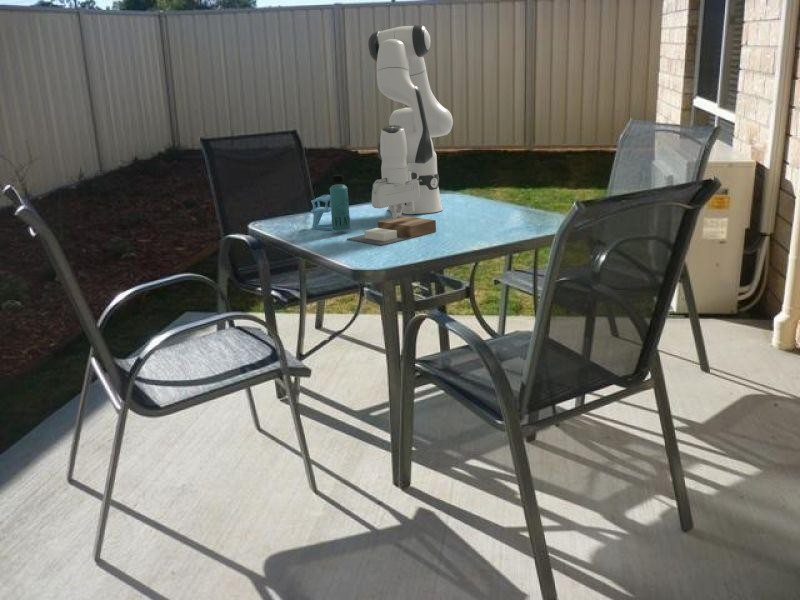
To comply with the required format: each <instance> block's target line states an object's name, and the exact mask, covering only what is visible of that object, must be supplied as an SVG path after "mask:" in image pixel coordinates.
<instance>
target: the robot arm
mask: <svg viewBox="0 0 800 600" xmlns="http://www.w3.org/2000/svg"><path fill="white" fill-rule="evenodd" d="M431 40H432V39H431V36H430V33H429V31H428V29H427V28H426V26H424V25H422V24H421V25H420V24H414V25H402V26H396V27H393V28H388V29H385V30H378V31H375V32H373V33H371V35H370V36H369V38H368V47H367V48H368V52H369V55H370V57H371V58H372V59H373V60H374V61H375V62H376V82H377V87H378V90H379V91H380V93H381V94H382V95H383V96H385V97H386V98H388V99H390V100H391V101H395V102H396V103H401V104H404V105H405V106H408V107H404V108H403V107H401V108H399V109H395V110H393V111H392V113H391V115H390V116H389V120H388V124H389V125H388V126H387V125H386V126H384V127H382V128H381V130H380V131H381V132H380V139H379V140H378V142H377V158H378V159H380V161H381V166H380V170H381V172H380V173H381V179H375V181H374V182H373V183H372V191H371V206H372V207H373V209H385V208H387V210H388V211H390V213H391V218H399V217H402V216H403V215H402V214H405V215H415V214H418V215H419V214H420V215H421V214H432V213H438V212H441V211H443V210H444V208H443V204H442V200H441V194H440V188H439V183H440V182H439V181H440V177H439V173H438V159H437V158H438V157H437V153H436V151H435V147H434V143H433V140H432V139H433V138H438V137H443V136H448V134H450V133H451V131H452V128H453V126H454V118H453V116H452V113H451V112H450V111H449V109H448V108H446V107H444V106H443V105H442V104H441V103H440V102H439V101H438V100H437V98H436V97H435V95H434V93H433V92H432V88H431V86H430V81H429V78H428V77H429V76H428V71H427V67H426V63H425V58H424V56H425V55H427V53H429V51H430V49H431Z"/></svg>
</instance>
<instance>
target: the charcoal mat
mask: <svg viewBox="0 0 800 600" xmlns="http://www.w3.org/2000/svg"><path fill="white" fill-rule="evenodd" d="M410 239H412V238H411V237H405V236H399V235H397V238H394V239H390V240H387V241H380V240H374V239H367V238H365V233H364V234H362V235H356V236H353V237H347V238H346V240H347V241H352V242H358V243H363V244H369V245H373V246H374V245H375V246H379V247H383V246H388V245H391V244H395V243H399V242H403V241H406V240H410Z"/></svg>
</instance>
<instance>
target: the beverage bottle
mask: <svg viewBox="0 0 800 600" xmlns="http://www.w3.org/2000/svg"><path fill="white" fill-rule="evenodd" d="M344 181H345V178H344V175H343V174H335V175H332V176H331V182H332V183H338V184H333V185H331V186H330V188H329V195H330V200H331V211H330V215H331V224H332V228H333V230H332V231H347V230H350V229H351V218H350V214H351V213H350V211H351V210H350V200H349V192H348V186H347V185H345V184H342V182H344ZM340 182H341V183H340ZM339 183H340V184H339ZM330 200H329V201H330Z"/></svg>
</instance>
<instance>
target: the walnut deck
mask: <svg viewBox="0 0 800 600" xmlns="http://www.w3.org/2000/svg"><path fill="white" fill-rule="evenodd" d="M376 221H377V220H376ZM436 221H437V220H435V219H429V218H423V217H422V218H421V217H415V216H409V215H402V217H399V218H392V217H391V218H386V219H381V220H378V221H377V228H382V229H389V230H396V231H397V235H399V236H405V237H411V239H413V238H417V237H422V236H425V235H429V234H433V233H436V232H437V226H436V225H437V222H436Z"/></svg>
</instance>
